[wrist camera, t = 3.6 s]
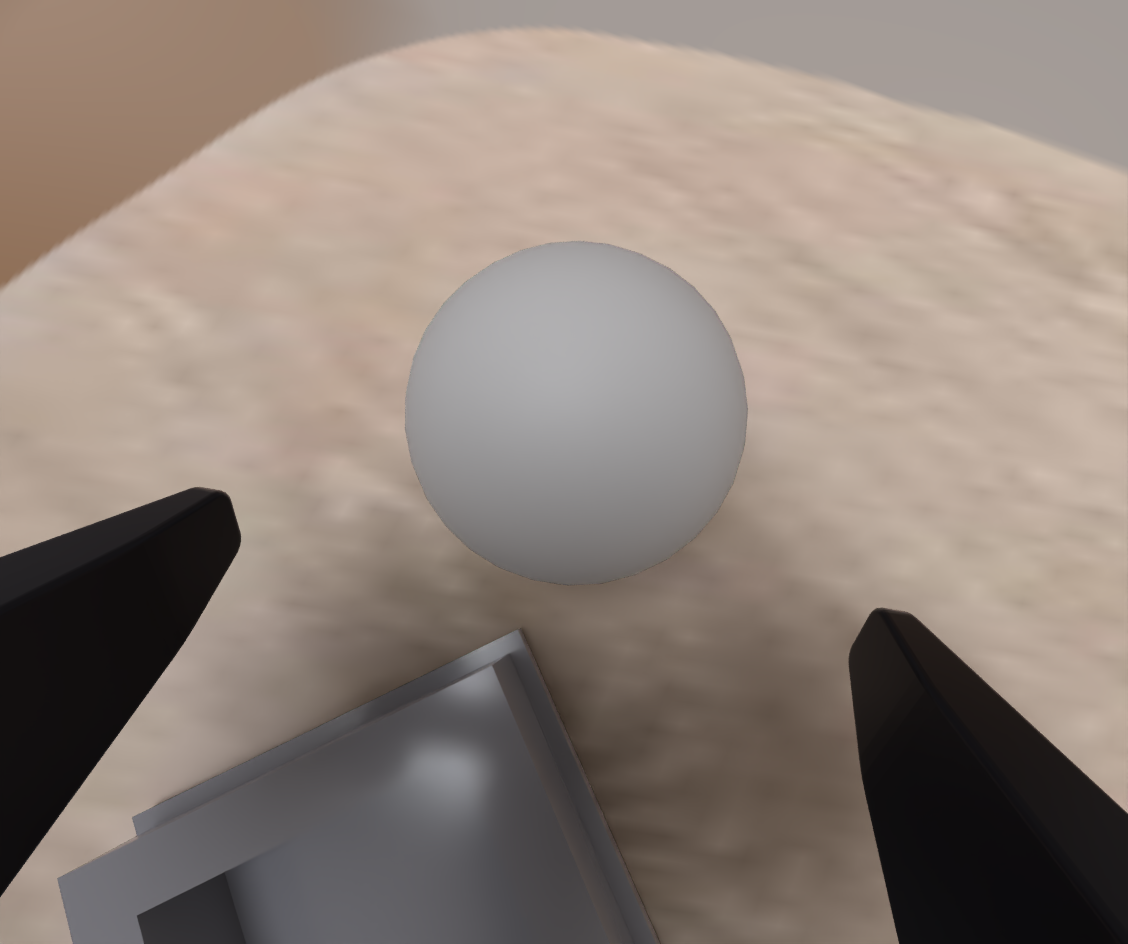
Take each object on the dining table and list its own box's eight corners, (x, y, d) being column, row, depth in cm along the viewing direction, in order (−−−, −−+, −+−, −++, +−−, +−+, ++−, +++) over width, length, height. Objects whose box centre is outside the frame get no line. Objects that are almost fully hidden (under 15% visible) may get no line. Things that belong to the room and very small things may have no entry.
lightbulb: (714, 524, 18) (900, 420, 7) (547, 627, 18) (482, 677, 7) (611, 368, 19) (640, 83, 9) (453, 461, 19) (271, 285, 8)
